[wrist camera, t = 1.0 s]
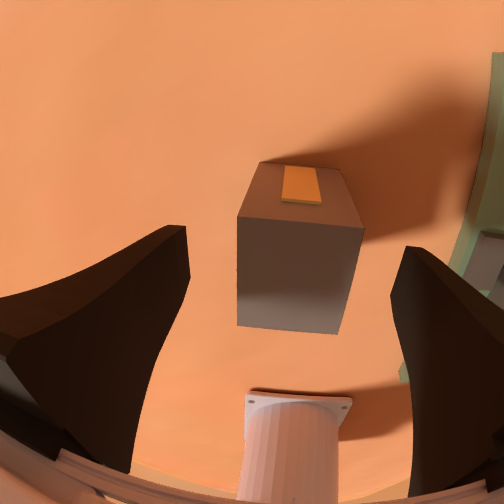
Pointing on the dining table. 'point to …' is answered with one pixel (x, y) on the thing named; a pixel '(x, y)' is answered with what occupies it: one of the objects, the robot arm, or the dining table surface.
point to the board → (484, 208)
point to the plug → (296, 249)
